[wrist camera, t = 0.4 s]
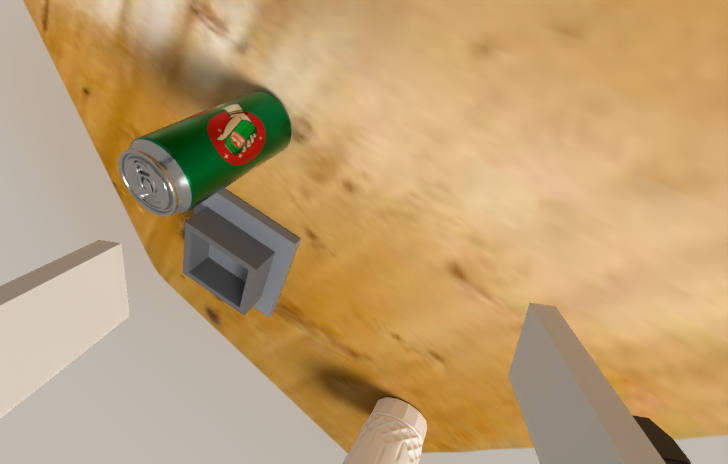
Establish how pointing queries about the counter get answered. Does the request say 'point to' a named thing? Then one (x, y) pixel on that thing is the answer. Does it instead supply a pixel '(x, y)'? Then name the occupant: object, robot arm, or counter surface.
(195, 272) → the mount
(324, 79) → the counter surface
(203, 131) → the soda can
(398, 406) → the white cup
